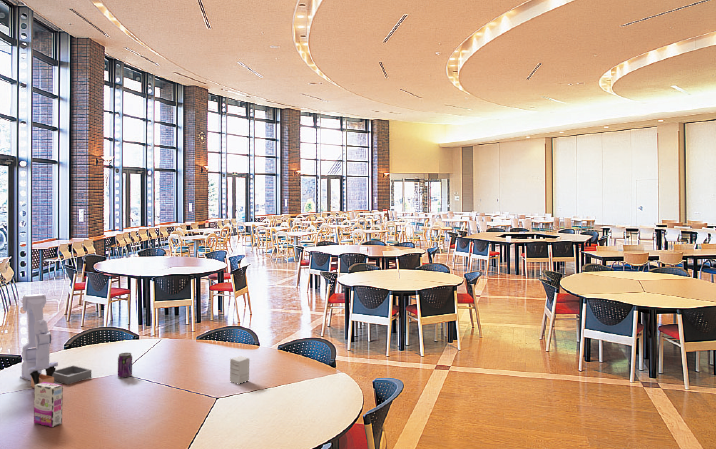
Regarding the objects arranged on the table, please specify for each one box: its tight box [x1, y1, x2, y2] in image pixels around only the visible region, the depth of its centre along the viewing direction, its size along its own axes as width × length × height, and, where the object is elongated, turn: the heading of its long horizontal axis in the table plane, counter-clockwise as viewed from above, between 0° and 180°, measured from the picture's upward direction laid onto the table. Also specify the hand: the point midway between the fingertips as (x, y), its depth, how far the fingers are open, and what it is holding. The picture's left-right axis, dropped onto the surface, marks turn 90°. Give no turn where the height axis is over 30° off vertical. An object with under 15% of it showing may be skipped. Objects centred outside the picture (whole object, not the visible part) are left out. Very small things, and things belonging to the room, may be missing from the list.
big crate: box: [52, 365, 92, 385], centre depth 270 cm, size 15×13×4 cm
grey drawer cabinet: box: [229, 355, 250, 385], centre depth 273 cm, size 7×7×13 cm
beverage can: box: [117, 352, 133, 379], centre depth 276 cm, size 7×7×12 cm
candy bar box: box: [33, 382, 64, 428], centre depth 215 cm, size 11×5×16 cm, turn 69°
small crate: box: [30, 373, 55, 388], centre depth 257 cm, size 10×5×5 cm, turn 63°
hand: (42, 383), depth 257 cm, fingers closed on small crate, 5 cm apart
